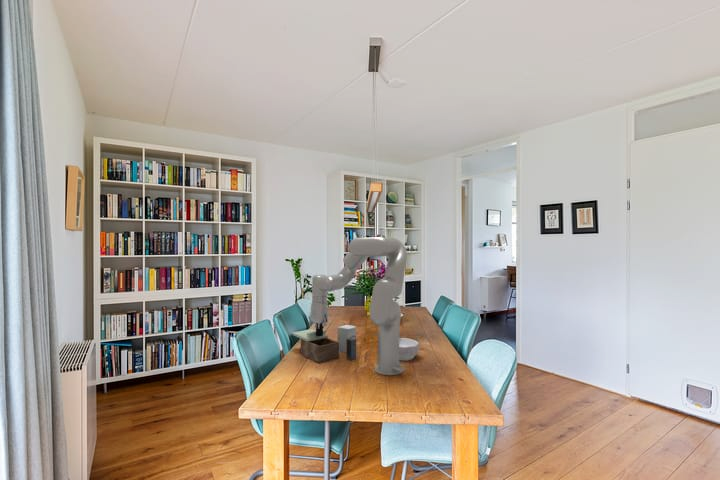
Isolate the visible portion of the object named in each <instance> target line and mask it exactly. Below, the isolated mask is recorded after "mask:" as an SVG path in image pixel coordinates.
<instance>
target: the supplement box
mask: <svg viewBox="0 0 720 480" xmlns="http://www.w3.org/2000/svg"><path fill="white" fill-rule="evenodd" d="M349 338H354V339H356V340H357V326H354V325H350V324H345V325H341V326H338V327H337V342H339V352H341V353H342V352H343V353H346V354H347V339H349Z"/></svg>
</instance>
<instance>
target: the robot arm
mask: <svg viewBox="0 0 720 480" xmlns="http://www.w3.org/2000/svg"><path fill="white" fill-rule="evenodd" d="M348 250H349V251H348V252H347V253H346V255H344V257H343V260H342V261H343V264H344V266H343V268H342V269H341V270H340V271H339V272H338V273H337V274H333V275H325V274H315V275H313V276H312V279H311V282H312V283H311V289H312V290H311V293H312V294H311V296H312V298H311V304H310V316H309V319H310V321H311V322H312V323H314V327H315V330H316V336H318V337H319V336H323V330H324V327H325V326H327V323H328V321H329V308H328V306H329V305H328V292H334V291H339V290H342V289H344V288H345V287H346V286H347V285H348V284H349V283H350V282H351V281H352V280H353V278H355V276H356V273H357V270H358V269H360V267H361V265H363V264H364V262H366V260H368V258H369V257H370V258H371V257H373V258H374V257H379V258H380V257H388V260H387V262H386V266H385V271H384V277H383V278H380V279H378V280H377V281H376V282H375V284H374V285H373V289H372V294H371V298H370V299H371V301H370V307H369V318H370V320H371V322H372V323H373V324H374V325H376V326H378V329H377V330H378V332H377V364H376V365H374V372H375V373H377V374H378V375H383V376H397V375H399V374H402V373H403V372H404V370H406V369H405V368H406V367H404V366H402V364H401V363H402V361H401V360H399V338H400V323H401V316H402V308H401V306H400V304H399V303H398V302H397V301H396V300H395V298H397V297H399V296H400V295H401V294H402V291H403V285H404V279H405V274H406V273H405V271H406V265H407V259H408V253H407V252H408V251H407V249H406V247H405V244H403V242H402V241H401V240H399V239H397V238H395V237H393V236H392V237H391V236H374V237H373V236H372V237H370V236H369V237H355V238H353V239H352V240H351V241H350V242H349V244H348Z"/></svg>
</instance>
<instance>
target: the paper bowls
mask: <svg viewBox="0 0 720 480" xmlns="http://www.w3.org/2000/svg"><path fill="white" fill-rule="evenodd" d="M419 347H420V346H419V342H418V341H416V340H414V339H412V338H407V337H399V361H401V362H402V361H411V360H413V359H414V358H415V356H417V355H418V354H419Z"/></svg>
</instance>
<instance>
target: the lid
mask: <svg viewBox="0 0 720 480" xmlns="http://www.w3.org/2000/svg"><path fill="white" fill-rule="evenodd" d="M326 332H327V330H326V329H323V336H319V337H318V336H316V329H312V328H311V329H305V330H300V331H293V332H292V333H291V335H292V336H294V337H297V338H299V339H300V340H301V339H303V340H305V341H313V340H318V339H323V338H329V335H328V334H327V333H326Z"/></svg>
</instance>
